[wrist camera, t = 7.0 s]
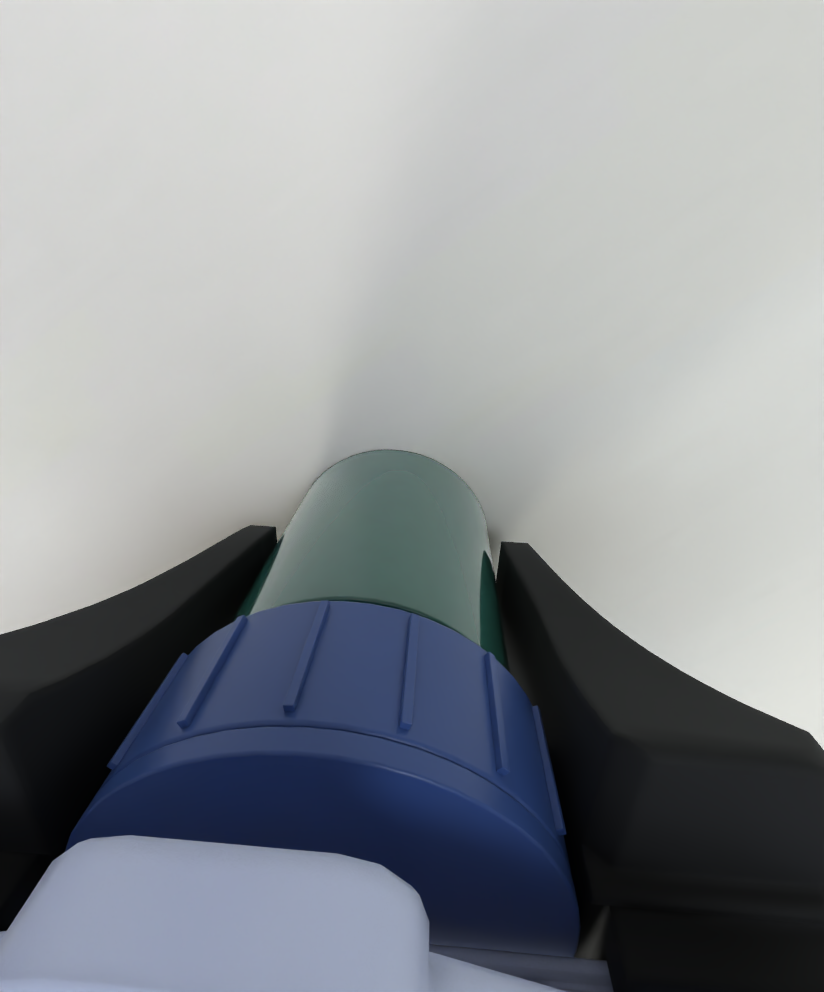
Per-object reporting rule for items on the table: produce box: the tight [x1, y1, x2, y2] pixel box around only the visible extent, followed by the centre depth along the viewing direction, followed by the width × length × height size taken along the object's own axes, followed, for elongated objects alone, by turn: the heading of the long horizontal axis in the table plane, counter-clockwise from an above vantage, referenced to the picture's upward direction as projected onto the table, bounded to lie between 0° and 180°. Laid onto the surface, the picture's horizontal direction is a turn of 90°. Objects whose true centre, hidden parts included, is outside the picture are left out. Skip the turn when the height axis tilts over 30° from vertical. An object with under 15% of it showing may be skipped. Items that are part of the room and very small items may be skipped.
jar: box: [230, 450, 510, 673], centre depth 10 cm, size 5×5×8 cm
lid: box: [65, 601, 581, 958], centre depth 7 cm, size 6×6×2 cm
